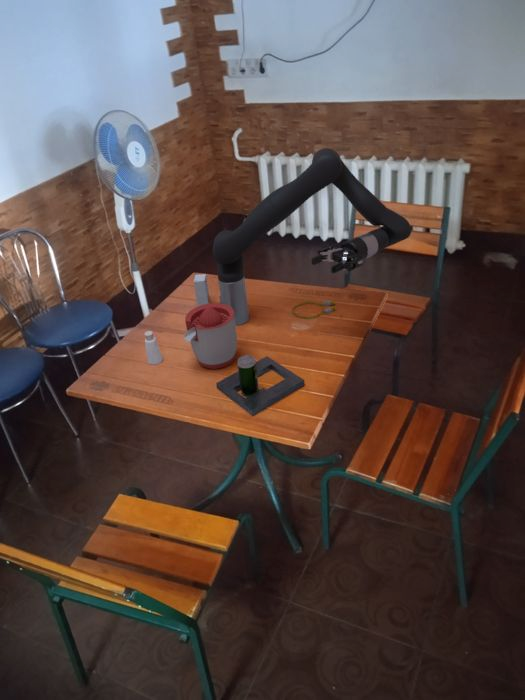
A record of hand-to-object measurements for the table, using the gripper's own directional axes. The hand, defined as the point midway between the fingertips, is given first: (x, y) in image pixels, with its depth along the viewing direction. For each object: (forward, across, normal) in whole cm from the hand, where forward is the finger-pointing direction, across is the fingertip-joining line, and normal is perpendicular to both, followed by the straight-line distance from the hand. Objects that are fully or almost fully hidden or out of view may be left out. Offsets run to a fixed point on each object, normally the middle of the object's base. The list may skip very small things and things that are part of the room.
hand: (322, 266), depth 167 cm
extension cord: (-14, -21, +31) cm, 40 cm away
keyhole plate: (+28, +1, +30) cm, 41 cm away
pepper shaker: (+44, -36, +30) cm, 64 cm away
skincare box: (+12, -55, +30) cm, 64 cm away
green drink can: (+32, 0, +30) cm, 44 cm away
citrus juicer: (+30, -21, +30) cm, 47 cm away
